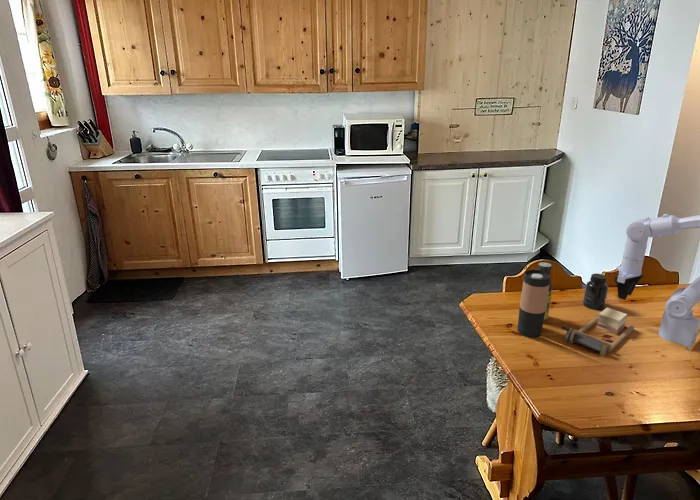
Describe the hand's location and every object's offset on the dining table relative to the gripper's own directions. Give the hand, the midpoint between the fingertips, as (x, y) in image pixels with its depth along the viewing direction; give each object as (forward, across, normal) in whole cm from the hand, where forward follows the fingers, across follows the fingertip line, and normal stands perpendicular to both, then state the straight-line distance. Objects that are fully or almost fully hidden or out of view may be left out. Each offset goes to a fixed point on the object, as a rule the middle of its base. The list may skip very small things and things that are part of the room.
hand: (624, 296), depth 157 cm
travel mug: (+10, +27, -17) cm, 33 cm away
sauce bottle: (+10, +18, -19) cm, 28 cm away
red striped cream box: (+8, +8, 0) cm, 11 cm away
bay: (+9, +13, 0) cm, 16 cm away
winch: (+9, +24, -1) cm, 26 cm away
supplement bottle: (+10, -4, -10) cm, 14 cm away
